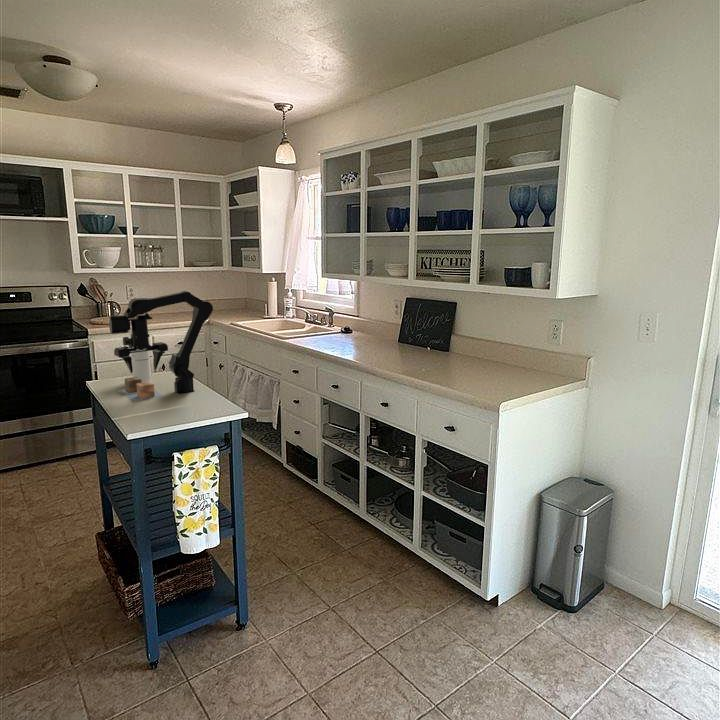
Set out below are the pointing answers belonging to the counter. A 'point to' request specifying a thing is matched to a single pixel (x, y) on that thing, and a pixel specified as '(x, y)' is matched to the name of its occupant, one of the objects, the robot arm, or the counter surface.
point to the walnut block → (132, 384)
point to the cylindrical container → (141, 364)
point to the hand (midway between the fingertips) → (143, 371)
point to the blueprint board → (134, 396)
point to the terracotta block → (145, 390)
